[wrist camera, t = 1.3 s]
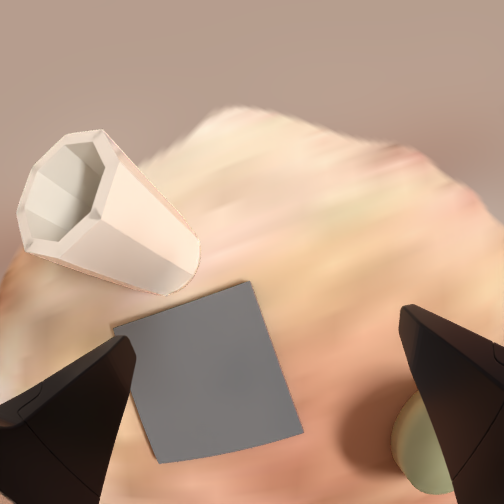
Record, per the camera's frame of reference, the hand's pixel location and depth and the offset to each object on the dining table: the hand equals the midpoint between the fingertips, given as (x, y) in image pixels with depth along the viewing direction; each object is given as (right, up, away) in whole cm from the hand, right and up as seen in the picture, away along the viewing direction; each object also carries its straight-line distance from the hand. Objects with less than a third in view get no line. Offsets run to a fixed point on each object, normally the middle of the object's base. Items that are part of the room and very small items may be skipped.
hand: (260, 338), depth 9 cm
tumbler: (-7, +2, +15) cm, 17 cm away
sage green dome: (+15, -11, +9) cm, 21 cm away
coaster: (-4, -7, +12) cm, 15 cm away
